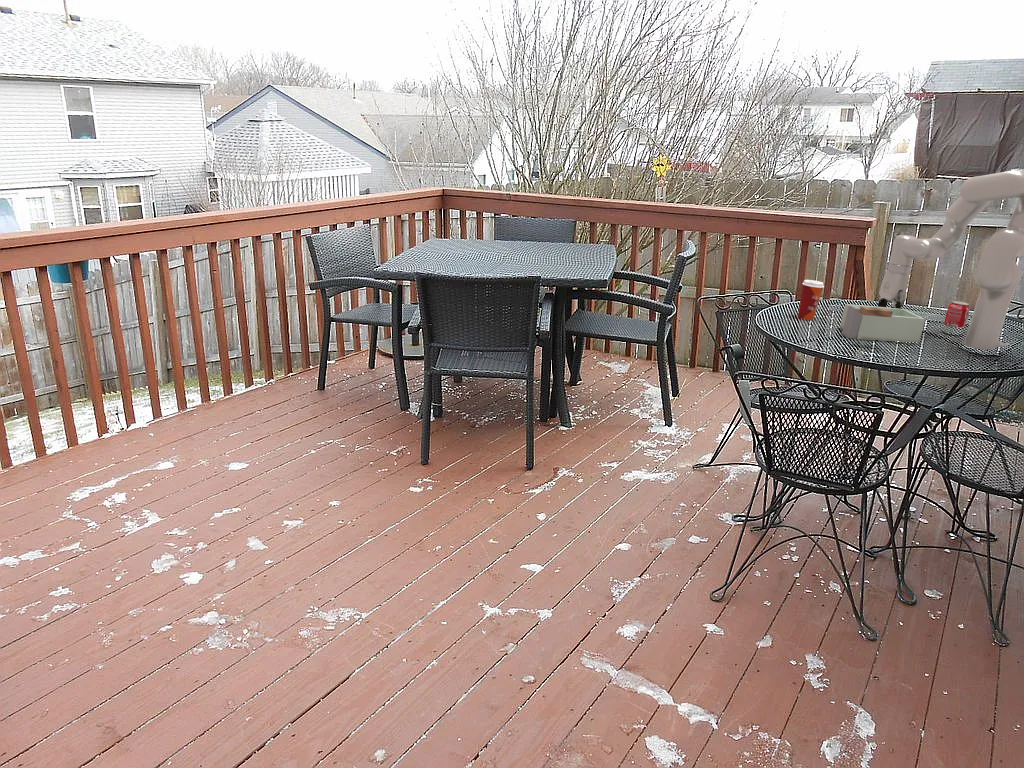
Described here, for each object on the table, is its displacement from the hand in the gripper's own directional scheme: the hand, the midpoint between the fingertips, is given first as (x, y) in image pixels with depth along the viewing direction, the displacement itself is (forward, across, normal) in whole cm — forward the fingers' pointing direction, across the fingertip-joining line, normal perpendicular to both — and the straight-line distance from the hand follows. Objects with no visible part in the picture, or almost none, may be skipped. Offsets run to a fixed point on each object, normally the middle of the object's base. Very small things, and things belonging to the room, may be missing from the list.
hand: (887, 314), depth 289 cm
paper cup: (+4, -1, -30) cm, 30 cm away
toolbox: (+4, +18, -13) cm, 22 cm away
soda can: (+4, +4, +24) cm, 25 cm away
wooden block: (-6, +32, -22) cm, 39 cm away
